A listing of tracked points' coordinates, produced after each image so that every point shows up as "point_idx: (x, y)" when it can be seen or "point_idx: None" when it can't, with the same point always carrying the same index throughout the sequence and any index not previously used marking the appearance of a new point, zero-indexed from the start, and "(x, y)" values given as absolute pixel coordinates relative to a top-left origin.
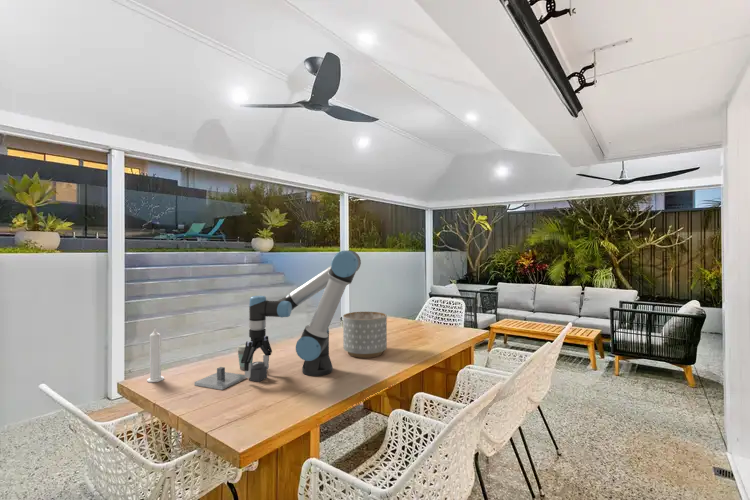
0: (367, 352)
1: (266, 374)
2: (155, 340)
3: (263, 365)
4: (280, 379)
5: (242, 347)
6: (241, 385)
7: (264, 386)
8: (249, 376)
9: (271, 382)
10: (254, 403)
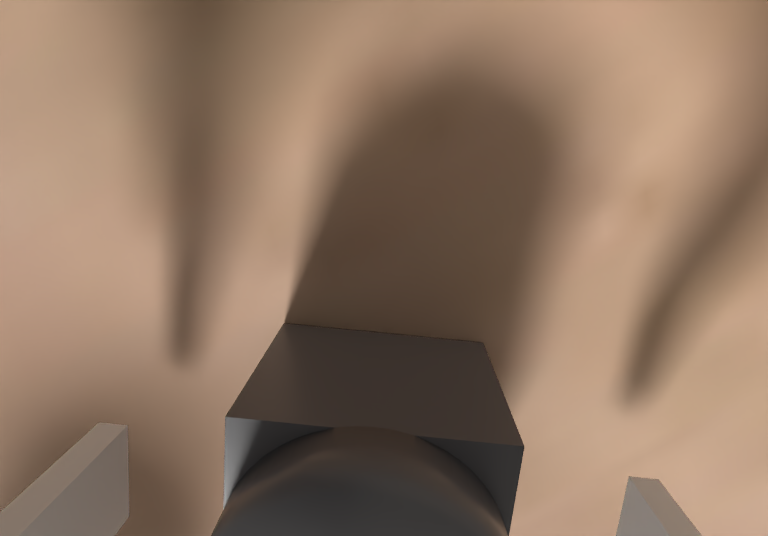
0: None
1: (287, 346)
2: None
3: (361, 465)
4: (283, 63)
5: None
6: None
7: (653, 156)
8: (669, 498)
9: (456, 141)
10: None
